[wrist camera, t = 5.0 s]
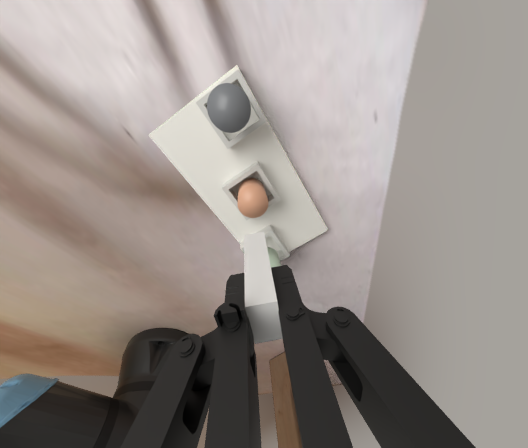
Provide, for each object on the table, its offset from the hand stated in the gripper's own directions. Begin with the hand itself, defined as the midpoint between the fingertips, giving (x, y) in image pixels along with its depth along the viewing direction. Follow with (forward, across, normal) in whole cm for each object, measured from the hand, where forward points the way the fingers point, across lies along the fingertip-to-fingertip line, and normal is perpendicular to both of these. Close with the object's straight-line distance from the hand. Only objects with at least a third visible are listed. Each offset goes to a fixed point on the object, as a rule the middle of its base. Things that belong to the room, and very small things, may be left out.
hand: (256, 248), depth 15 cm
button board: (+16, 0, 0) cm, 16 cm away
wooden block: (+16, +2, -43) cm, 46 cm away
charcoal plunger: (+12, 0, +10) cm, 15 cm away
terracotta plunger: (+14, 0, 0) cm, 14 cm away
